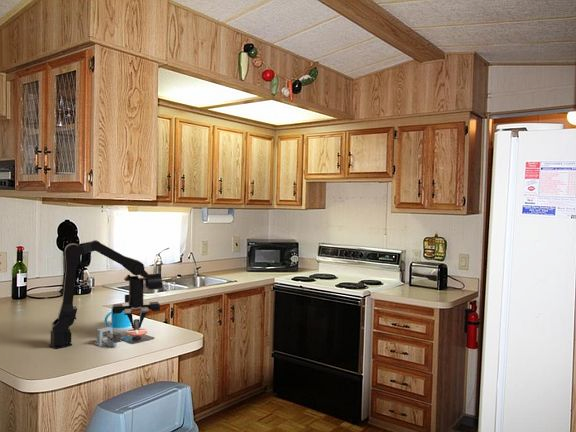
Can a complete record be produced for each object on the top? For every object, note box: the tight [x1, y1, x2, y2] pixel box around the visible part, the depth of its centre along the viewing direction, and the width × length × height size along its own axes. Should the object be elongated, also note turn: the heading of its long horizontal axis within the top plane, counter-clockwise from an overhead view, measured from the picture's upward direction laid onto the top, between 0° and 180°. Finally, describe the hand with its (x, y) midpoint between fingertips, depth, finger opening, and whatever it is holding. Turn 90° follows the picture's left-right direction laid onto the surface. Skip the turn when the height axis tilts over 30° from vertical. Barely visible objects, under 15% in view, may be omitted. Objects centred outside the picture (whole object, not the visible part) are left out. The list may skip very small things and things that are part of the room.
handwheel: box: [126, 318, 148, 336], centre depth 199 cm, size 8×8×6 cm
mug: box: [104, 308, 131, 329], centre depth 219 cm, size 12×8×8 cm
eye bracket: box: [93, 326, 117, 348], centre depth 192 cm, size 7×8×6 cm
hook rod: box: [103, 331, 122, 344], centre depth 191 cm, size 2×13×3 cm, turn 51°
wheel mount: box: [121, 334, 155, 345], centre depth 200 cm, size 10×10×1 cm
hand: (136, 328), depth 202 cm, fingers open, 2 cm apart
